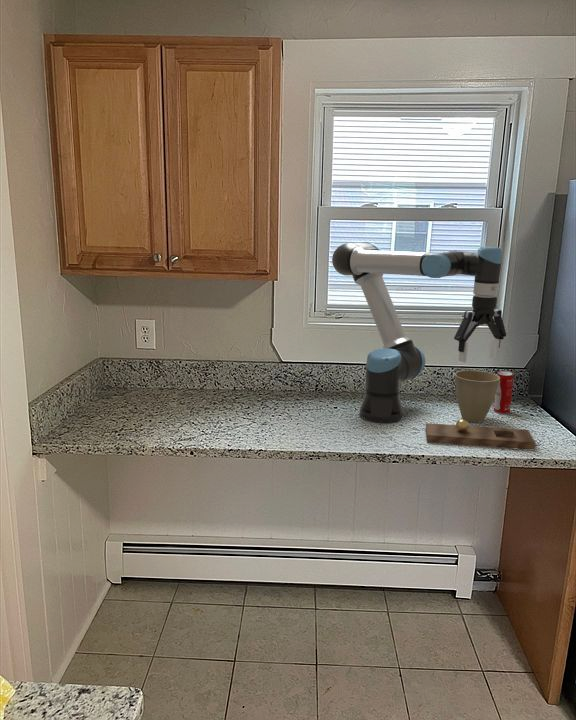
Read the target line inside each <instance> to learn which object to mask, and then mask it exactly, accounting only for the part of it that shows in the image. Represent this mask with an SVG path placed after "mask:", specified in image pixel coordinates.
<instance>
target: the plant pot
mask: <svg viewBox="0 0 576 720" xmlns="http://www.w3.org/2000/svg"><path fill="white" fill-rule="evenodd" d="M499 380H500V377H499V376H498V375H497V374H495V373H492V372H488V371H483V370H473V369H472V370H471V369H469V370H468V369H466V370H465V369H464V370H458V371H456V372H454V384H455V394H456V398H457V399H456V400H457V403H458V408H459V412H460V415H461V419H465V420H467V421H468V423H483V422H484V421H485V419H486V417H487V415H488V414H489V413H490V409H491V407H492V405H493V404H494V398H495V394H496V391H497V388H498V384H499Z"/></svg>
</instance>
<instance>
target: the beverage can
mask: <svg viewBox="0 0 576 720" xmlns="http://www.w3.org/2000/svg"><path fill="white" fill-rule="evenodd" d="M496 375H498V376H499V377H500V380H499V384H498V388H497V391H496V394H495V397H494V400H493V411H494V413H496V414H499V415H507V414H509V413H510V412H511V406H512V397H513V387H514V378H515V377H514V373H513V372H511V371H507V370H501V371H498V372H497V374H496Z"/></svg>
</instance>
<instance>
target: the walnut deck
mask: <svg viewBox="0 0 576 720" xmlns="http://www.w3.org/2000/svg"><path fill="white" fill-rule="evenodd" d="M425 437H426V443H427V444H428V443H430V444H441V445H442V444H443V445H444V444H445V445H458V446H469V447H470V446H471V447H472V446H473V447H485V448H496V449H497V448H498V449H499V448H500V449H511V448H518V449H517V450H524V449H536V441H535V439H534V438H533V436H532V434H531V432H530V431H529V430H528V429H519V428H503V427H491V426H478V425H477V426H474V425H469V428H468V430H467V431H464V432H461V431H459V430H458V429H457V428H456V424H446V423H431V422H427V423H425Z"/></svg>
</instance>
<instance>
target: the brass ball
mask: <svg viewBox="0 0 576 720" xmlns="http://www.w3.org/2000/svg"><path fill="white" fill-rule="evenodd" d="M455 425H456V428H457V429H458V430H459V431H461V432H464V431H467V430H468V428H469V426H470V422H468V421H467V420H465V419H462V418H460V419H458V420H457V421H456V423H455Z"/></svg>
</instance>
